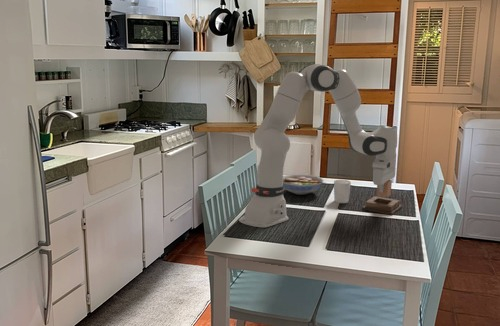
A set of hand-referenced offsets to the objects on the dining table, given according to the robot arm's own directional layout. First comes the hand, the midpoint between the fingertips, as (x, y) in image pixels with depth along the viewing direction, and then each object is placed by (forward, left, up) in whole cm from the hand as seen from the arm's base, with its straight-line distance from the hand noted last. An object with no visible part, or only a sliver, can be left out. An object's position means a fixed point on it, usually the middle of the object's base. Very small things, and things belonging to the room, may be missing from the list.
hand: (383, 190), depth 219 cm
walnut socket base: (0, 0, -9) cm, 9 cm away
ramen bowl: (0, +43, -9) cm, 44 cm away
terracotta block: (0, 0, -2) cm, 2 cm away
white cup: (-1, +20, -9) cm, 22 cm away
